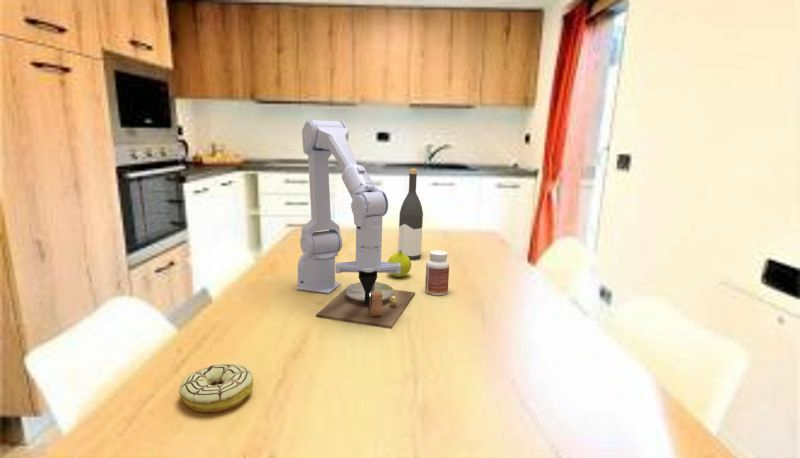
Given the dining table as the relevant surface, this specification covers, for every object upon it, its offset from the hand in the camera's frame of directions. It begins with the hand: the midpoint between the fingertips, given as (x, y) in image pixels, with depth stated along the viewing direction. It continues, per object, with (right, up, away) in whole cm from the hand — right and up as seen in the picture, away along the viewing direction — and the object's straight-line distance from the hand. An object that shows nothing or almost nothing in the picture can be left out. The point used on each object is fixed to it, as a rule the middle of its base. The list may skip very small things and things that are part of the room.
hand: (367, 302), depth 103 cm
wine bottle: (+11, +7, +51) cm, 52 cm away
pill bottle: (+17, 0, +19) cm, 25 cm away
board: (0, -2, +8) cm, 8 cm away
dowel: (+6, -2, +6) cm, 9 cm away
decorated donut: (-22, -10, -31) cm, 39 cm away
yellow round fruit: (+7, +3, +30) cm, 31 cm away
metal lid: (0, -1, +8) cm, 8 cm away
